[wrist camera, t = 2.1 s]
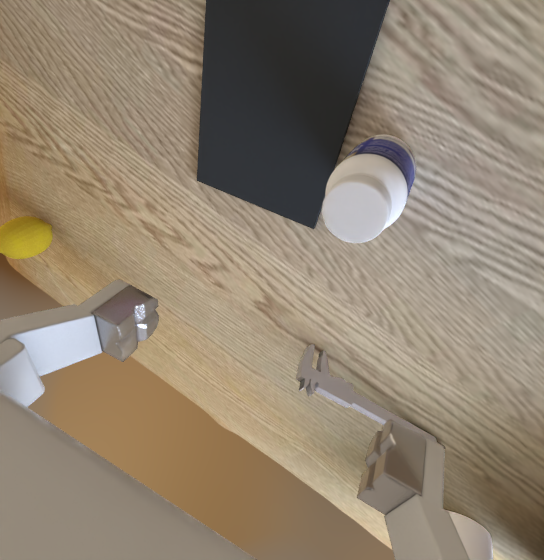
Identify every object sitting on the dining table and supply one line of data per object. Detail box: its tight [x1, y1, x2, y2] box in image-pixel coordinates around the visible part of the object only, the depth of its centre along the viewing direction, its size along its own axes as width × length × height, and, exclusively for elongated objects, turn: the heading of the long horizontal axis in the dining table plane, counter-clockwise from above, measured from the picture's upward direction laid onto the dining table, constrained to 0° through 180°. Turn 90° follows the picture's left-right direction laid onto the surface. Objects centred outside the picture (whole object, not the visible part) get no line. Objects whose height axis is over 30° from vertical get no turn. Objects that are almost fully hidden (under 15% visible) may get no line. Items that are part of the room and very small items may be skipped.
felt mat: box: [197, 0, 390, 229], centre depth 26 cm, size 13×20×1 cm, turn 168°
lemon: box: [0, 216, 53, 259], centre depth 47 cm, size 6×6×8 cm
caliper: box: [296, 344, 445, 449], centre depth 38 cm, size 20×1×6 cm, turn 60°
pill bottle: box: [322, 135, 416, 243], centre depth 23 cm, size 5×5×9 cm
